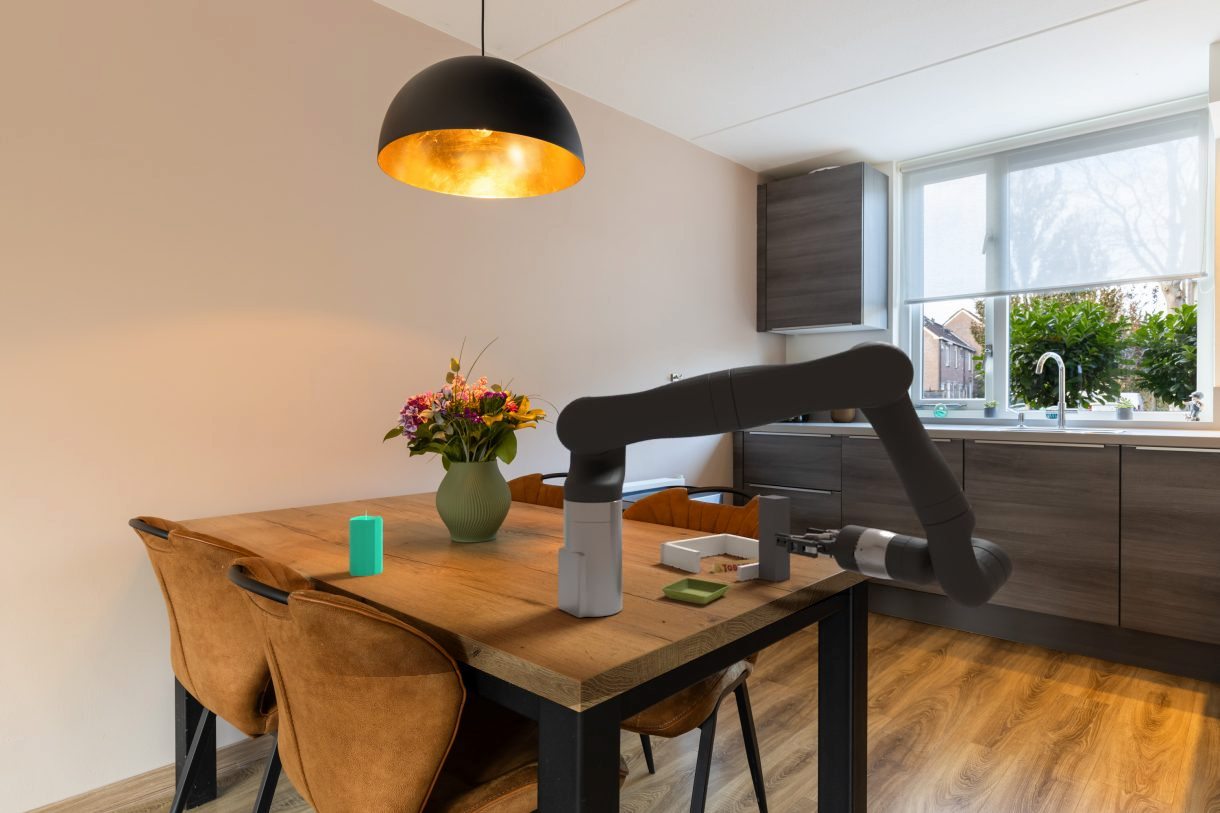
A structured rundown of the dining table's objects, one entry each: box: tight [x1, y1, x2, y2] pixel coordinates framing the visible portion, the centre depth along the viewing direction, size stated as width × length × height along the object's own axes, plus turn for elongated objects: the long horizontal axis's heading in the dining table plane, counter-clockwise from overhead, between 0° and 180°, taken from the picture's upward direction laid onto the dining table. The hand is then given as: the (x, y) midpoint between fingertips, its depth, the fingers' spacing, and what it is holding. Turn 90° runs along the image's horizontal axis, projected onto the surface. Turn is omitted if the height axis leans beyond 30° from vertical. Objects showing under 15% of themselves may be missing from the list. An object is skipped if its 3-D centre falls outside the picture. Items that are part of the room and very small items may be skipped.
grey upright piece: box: [737, 494, 791, 583], centre depth 128 cm, size 13×5×15 cm, turn 125°
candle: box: [348, 509, 384, 577], centre depth 132 cm, size 6×6×12 cm
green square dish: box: [660, 577, 731, 605], centre depth 115 cm, size 9×9×2 cm
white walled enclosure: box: [660, 533, 759, 574], centre depth 141 cm, size 18×10×4 cm, turn 125°
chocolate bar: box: [710, 559, 759, 574], centre depth 134 cm, size 3×12×2 cm, turn 111°
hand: (791, 536), depth 124 cm, fingers open, 8 cm apart
